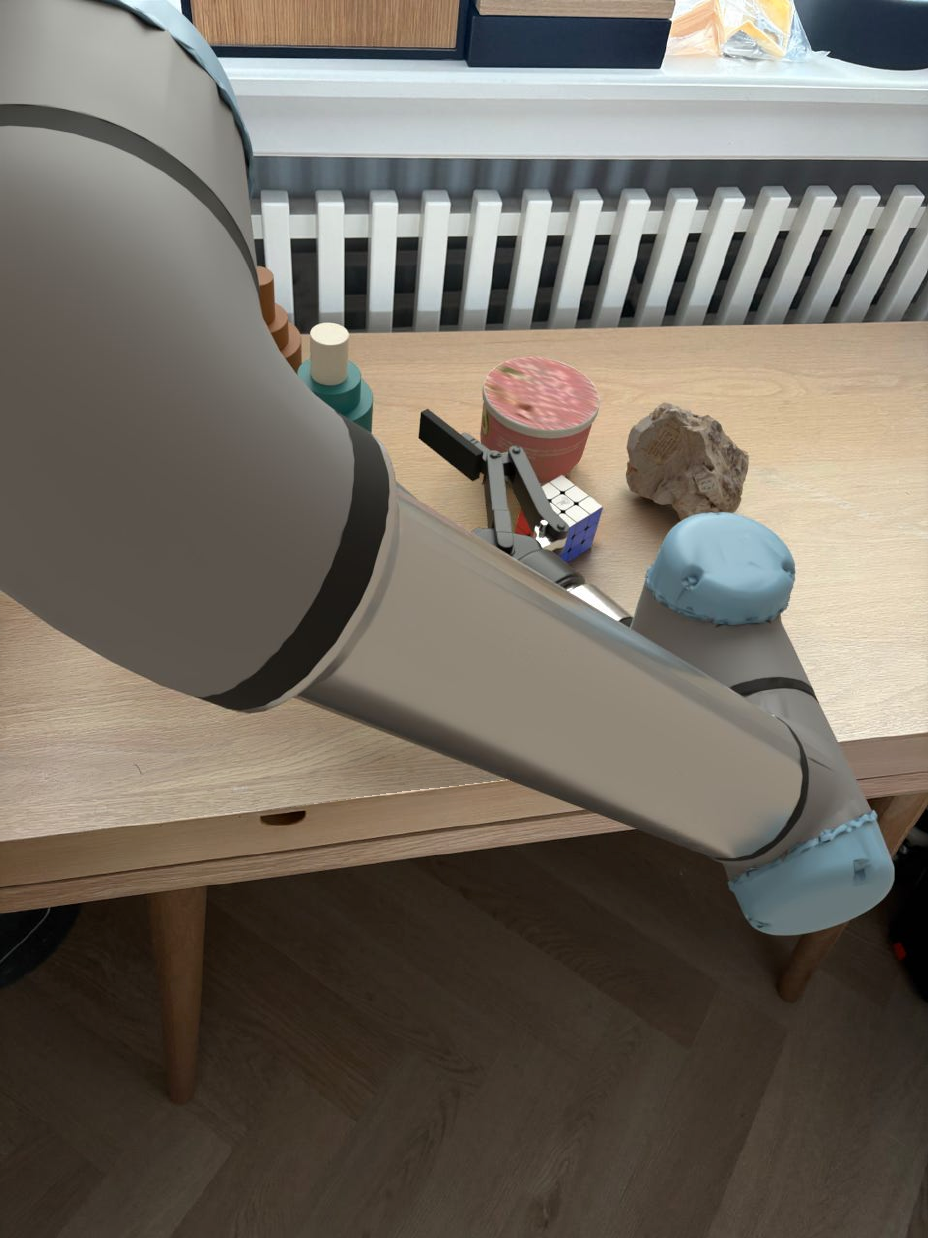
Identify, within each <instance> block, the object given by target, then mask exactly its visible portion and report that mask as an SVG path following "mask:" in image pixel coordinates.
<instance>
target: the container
mask: <svg viewBox="0 0 928 1238" xmlns="http://www.w3.org/2000/svg"><path fill="white" fill-rule="evenodd" d="M481 393H482V401H483V403H482V410H481V411H482V413H481V423H480V433H479V434H480V436H479V438H480V443H482V444H483V445H484V446H485V447H487V448H488V449H489V450H495V451H498V452H500V453H503V452H508V451H509V448H510V447H511V446H520V447H521V448H523V450H524V452H525V454H526V456H527V458H528V460H529V462H530V464H531V466H532V468H533V470H534V472H535V474H536V476H537V478H538V480H539V482H540V484H541V486H543V485H545V484H547V483H549V482H550V481H552V480H554V479H555V478H557V477H559V476H561V475H563V476H564V477H566V476H567V475H569V473H571V472H572V470H573V469H574V468H575V467H576V466H577V465H578V464H579V462H580V461H581V458H583V454H584V451H585V448H586V445H587V441H588V439H589V435H590V432H591V429H592V427H593V423H594V422H595V420H596V418H597V417H598V413H599V410H600V405H601V401H600V400H601V398H600V394H599V391H598V389H597V387H596V385H595V384H594V383H593V382H592V380H591V379H590V378H589V377H588V376H587V375H586V374H585V373H583V372H582V371H580V370H579V369H577V368H576V367H573V366H571V365H569V364H567V363H564V362H561V361H559V360H556V359H551V358H547V357H536V356H523V357H518V358H511V359H509V360H505V361H503V362H501V363H499V364H497V365H496V366H494V367H493V369H491V370H490V371H489V372H488V373H487V375H486V376H485V378H484V382H483V385H482V392H481ZM504 477H505V482H508V480H507V478H506V476H504Z"/></svg>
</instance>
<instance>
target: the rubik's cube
mask: <svg viewBox="0 0 928 1238" xmlns="http://www.w3.org/2000/svg"><path fill="white" fill-rule="evenodd" d="M542 489H543V491H544V493H545V495H546V497H547V499H548V501H549V503H550V505H551V507H552V509H553V511H555V512H556V513H557V514H558V515H559V516H560V517H561V518H562V519H563V520H564V521H565V522H566V523H567V524H568V525H569V531H568V535H567V539H566V543H565V547H564V551H563V553H562V554H560V555H558V556H559V557H560V558H561V559H563V560H564V561H565V562H566V563H569V562H570V561H572V560H574V559H575V558H577V557H578V556H580V555H581V554H583V553H585V552H586V551H587V550H589V549H590V548H592V547H593V544H594V540H595V537H596V533H597V530H598V526H599V523H600V519H601V516H602V513H603V509H604V506H603V505H602V504H601V503H600V502H598V501H597V500H595V499H594V498H592V497H591V495H589V494H588V493H586V492H585V491H584V490H582V489H581V488H580V487H579V486H577V485H576V484H575V483H573V482H572V481H571V480H570V479H569V478H567V477H566V476H563V475H561V476H559V477H557V478H555V479H554V480H552V481H550V482H549V483H547V484H545V485H543V486H542ZM514 533H517V534H522V535H527V536H531V537H533V533H532V531H531V529H530V527H529V525H528V523H527V521H526V519H525V516H524V514H523V512H522V510H521V508H520V507H519V511H518V514H517V519H516V526H515V530H514Z"/></svg>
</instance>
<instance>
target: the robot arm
mask: <svg viewBox="0 0 928 1238" xmlns="http://www.w3.org/2000/svg"><path fill="white" fill-rule="evenodd" d="M255 179H256V178H255V160H254V150H253V145H252V141H251V137H250V133H249V130H248V128H247V127H246V125H245V122H244V120H243V117H242V113H241V111H240V107H239V104H238V101H237V98H236V95H235V92H234V89H233V87H232V84H231V81H230V79H229V77H228V75H227V73H226V72H225V69H224V68H223V65H222V63H221V61H220V60H219V58H218V56H217V55H216V53H215V52H214V50H213V49H212V47H211V46H210V44H209V43H208V41H207V40H206V39H205V37H204V36H203V35H202V33H200V31H199V30H198V29H197V28H196V27H195V26H194V24H193V23H192V22H191V21H190V20H189V19H188V18H187V16H185V15H184V14H183V13H182V12H181V11H180V10H179V9H178V8H177V7H175V6H174V5H173V4H172V3H171V2H170V1H168V0H0V591H1V592H3V593H4V594H6V596H8V597H10V598H11V599H12V600H14V601H15V602H16V603H18V604H20V605H21V606H22V607H24V608H25V609H26V610H27V611H29V612H30V613H32V614H33V615H34V616H36V617H37V618H39V619H40V620H42V622H44V623H46V624H47V625H49V626H50V627H52V628H53V629H55V630H56V631H58V632H60V633H62V634H63V635H64V636H67V637H68V638H70V639H71V640H73V641H75V642H76V643H78V644H80V645H82V646H84V647H85V648H86V649H89V650H90V651H91V652H94V653H96V654H97V655H99V656H100V657H102V658H103V659H105V660H107V661H109V662H111V663H113V664H116V665H117V666H119V667H121V668H124V669H126V670H127V671H130V672H132V673H134V674H136V675H138V676H140V677H142V678H144V679H146V680H149V681H151V682H153V683H155V684H157V685H159V686H162V687H164V688H167V689H170V690H173V691H175V692H178V693H181V694H184V695H186V696H190V697H194V698H196V699H199V700H201V701H205V702H207V703H210V704H213V705H216V706H217V707H221V708H223V709H226V710H229V711H233V712H235V713H241V714H255V713H256V714H257V713H263V712H267V711H269V710H271V709H274V708H277V707H279V706H281V705H283V704H285V703H286V702H288V701H290V700H292V699H294V700H298V701H300V702H302V703H306V704H308V705H310V706H313V707H316V708H319V709H321V710H323V711H327V712H329V713H332V714H335V715H337V716H340V717H342V718H344V719H347V720H350V721H352V722H356V723H358V724H361V725H364V726H366V727H369V728H371V729H373V730H376V731H379V732H381V733H385V734H386V735H389V736H392V737H394V738H398V739H400V740H403V741H405V742H408V743H410V744H413V745H416V746H418V747H420V748H423V749H426V750H429V751H431V752H433V753H437V754H440V755H442V756H445V757H447V758H449V759H452V760H455V761H457V762H460V763H462V764H465V765H468V766H471V767H473V768H476V769H477V770H478V769H479V770H481V771H484V772H486V773H489V774H492V775H494V776H497V777H499V778H502V779H504V780H508V781H509V782H513V783H515V784H517V785H520V786H523V787H526V788H528V789H531V790H532V791H533V790H534V791H536V792H538V793H541V794H544V795H547V796H549V797H552V798H554V799H557V800H559V801H562V802H565V803H567V804H570V805H573V806H575V807H578V808H581V809H583V810H585V811H588V812H591V813H594V814H596V815H599V816H600V817H601V816H602V817H604V818H607V819H610V820H612V821H615V822H617V823H619V824H622V825H624V826H628V827H631V828H633V829H636V830H638V831H640V832H644V833H646V834H649V835H652V836H654V837H656V838H659V839H661V840H665V841H667V842H670V843H673V844H675V845H678V846H680V847H683V848H686V849H688V850H690V851H693V852H696V853H698V854H700V855H702V856H704V857H706V858H709V859H711V860H713V861H715V862H718V863H721V865H723V867H724V870H725V874H726V877H727V885H728V890H729V891H731V892H732V893H733V894H734V896H735V899H736V901H737V903H738V905H739V908H740V909H741V912H742V914H743V916H744V918H745V920H747V922H748V923H749V924H750V926H752V928H754V929H755V930H757V931H759V932H761V933H764V934H767V935H772V936H799V935H805V934H810V933H816V932H819V931H823V930H827V929H830V928H833V927H835V926H838V925H841V924H844V923H846V922H849V921H850V920H852V919H855V918H857V917H859V916H860V915H862V914H865V913H866V912H868V911H870V910H871V909H873V908H875V906H877V905H878V904H880V902H882V901H883V900H884V899H885V898H886V897H887V895H888V894H889V892H890V891H891V890H892V887H893V885H894V882H895V865H894V862H893V860H892V856H891V854H890V852H889V849H888V846H887V843H886V842H885V841H886V840H885V839H884V836H883V833H882V831H881V828H880V826H879V823H878V814H877V812H876V811H875V809H872V808H871V806H870V804H869V803H868V800H867V798H866V796H865V794H864V792H863V790H862V787H861V786H860V784H859V781H858V779H857V778H856V775H855V773H854V771H853V769H852V767H851V765H850V763H849V761H848V759H847V757H846V755H845V753H844V750H843V749H842V747H841V744H840V743H839V741H838V739H837V736H836V735H835V733H834V731H833V728H832V727H831V724H830V722H829V720H828V719H827V716H826V714H825V712H824V710H823V708H822V707H821V704H820V702H819V699H818V698H817V694H816V693H815V690H814V688H813V686H812V684H811V682H810V679H809V677H808V675H807V673H806V671H805V668H804V667H803V664H802V663H801V659H800V658H799V655H798V654H797V652H796V649H795V647H794V645H793V643H792V640H791V638H790V637H789V635H788V633H787V630H786V628H785V626H784V624H783V622H782V621H783V620H782V614H783V613H784V612H785V611H786V610H787V609H788V607H789V605H790V604H789V602H790V600H791V594H792V591H793V588H794V584H795V581H796V563H795V560H794V557H793V554H792V553H791V550H790V549H789V548H788V546H787V545H786V543H785V542H784V540H782V539H781V537H779V535H777V533H775V532H774V531H773V530H771V528H769V527H767V526H766V525H764V524H763V523H760V522H759V521H756V520H755V519H752V518H750V517H747V516H745V515H741V514H738V513H727V512H719V513H712V512H710V513H701V514H696V515H692V516H690V517H688V518H686V519H684V520H682V521H681V520H680V521H678V522H677V523H676V524H675V525H674V526H672V527H671V529H670V530H668V532H667V534H666V535H665V537H664V539H663V541H662V543H661V544H660V545H661V546H660V548H659V550H658V551H657V554H656V556H655V559H654V561H653V563H652V564H650V566H649V567H648V568H647V570H646V573H645V575H644V578H645V580H644V583H643V586H642V589H641V592H640V596H639V597H638V602H637V605H636V607H635V610H634V614H633V615H632V614H631V613H630V612H629V611H628V610H626V609H625V608H624V607H622V606H621V605H620V604H619V603H618V602H617V601H615V600H614V599H613V598H612V597H610V596H609V595H608V594H607V593H605V591H603V590H602V589H601V588H599V587H598V586H597V585H596V584H594V583H592V582H590V583H586V580H585V577H584V576H583V574H581V573H580V572H579V571H578V570H577V569H575V568H574V567H573V566H572V565H570V564H569V562H567V563H566V562H565V561H564V560H563V559H561V558H560V557H559V556H558V555H560V554H562V553H563V551H564V547H565V543H566V539H567V535H568V531H569V525H568V524H567V523H566V522H565V521H564V520H563V519H562V518H561V517H560V516H559V515H558V514H557V513H556V512H555V511H553V509H552V507H551V505H550V503H549V501H548V499H547V497H546V495H545V493H544V491H543V489H542V486H541V484H540V482H539V480H538V478H537V476H536V474H535V472H534V470H533V468H532V466H531V464H530V462H529V460H528V458H527V456H526V454H525V452H524V450H523V448H521V447H520V446H511V447H510V448H509V451H508V452H503V453H500V452H498V451H495V450H489V449H488V448H487V447H485V446H484V445H483V444H482V443H481V441H479V440H478V439H477V438H475V437H474V436H472V435H471V434H470V433H467V432H462V433H460V432H459V431H458V430H456V429H455V428H453V427H452V426H451V425H449V424H448V423H447V422H446V421H444V420H443V419H442V418H440V417H439V416H438V415H437V414H436V413H434V411H432V410H430V409H429V408H426V409H424V410H422V411H420V417H419V428H418V439H419V440H420V441H421V442H423V443H424V444H425V445H426V446H427V447H429V448H430V449H431V450H432V451H434V452H435V453H436V454H437V455H439V456H440V457H441V458H442V459H443V460H444V461H446V462H447V463H448V464H450V465H451V466H452V467H454V468H455V469H456V470H457V471H458V472H460V473H461V474H462V475H464V476H465V478H467V479H469V480H470V481H471V482H475V481H477V480H479V479H480V477H481V474H482V475H483V476H482V482H481V486H483V491H484V493H483V494H484V501H485V514H486V523H487V527H484V528H483V527H481V526H478V527H476V528H474V529H472V530H469V529H467V528H465V527H464V526H462V525H461V524H459V523H457V522H456V521H454V520H452V519H450V518H449V517H447V516H446V515H444V514H442V513H441V512H440V511H438V510H436V509H434V508H433V507H431V506H429V505H427V504H425V503H424V502H422V501H420V500H419V499H418V498H417V497H416V498H417V499H418V500H417V499H416V498H414V497H415V496H414V497H412V496H411V495H409V494H408V493H406V492H404V491H403V490H401V489H399V488H398V487H396V481H397V480H396V473H395V470H394V465H393V462H392V459H391V456H390V454H389V452H388V450H387V448H386V446H385V445H384V444H383V443H382V441H381V440H380V439H379V438H378V437H377V436H376V435H374V434H373V433H372V434H371V433H370V432H368V431H367V430H366V429H364V428H363V427H361V426H359V425H358V424H356V423H354V422H353V421H351V420H350V419H348V418H347V417H345V416H343V415H342V414H340V413H339V412H337V411H335V410H334V409H333V408H331V407H330V406H329V405H327V404H326V403H325V402H324V401H322V400H321V399H320V398H318V397H317V396H316V395H315V394H314V393H313V392H312V391H311V390H310V389H309V388H308V386H307V385H306V384H305V383H304V382H303V381H302V380H301V379H300V378H299V376H298V375H297V374H296V373H295V371H294V370H293V369H292V367H291V366H290V364H289V363H288V362H287V360H286V359H285V357H284V356H283V355H282V353H281V352H280V350H279V348H278V346H277V344H276V343H275V341H274V339H273V337H272V335H271V333H270V331H269V329H268V327H267V325H266V323H265V321H264V319H263V316H262V311H261V307H260V287H259V278H258V270H257V266H258V262H257V253H256V245H255V235H254V228H253V227H254V226H253V220H252V219H253V217H252V211H251V210H252V209H251V201H252V198H253V193H254V189H255V188H254V187H255ZM504 476H506V478H507V480H508V481H507V482H508V484H509V486H510V488H511V490H512V494H513V495H514V497H515V499H516V502H517V503H518V505H519V509H520V508H521V510H522V512H523V514H524V516H525V519H526V521H527V523H528V525H529V527H530V529H531V531H532V533H533V537H531V536H527V535H522V534H517V533H515V532H513V527H512V517H511V511H510V509H509V506H508V505H509V504H508V497H507V496H508V495H507V488H506V487H507V485H506V480H505V477H504Z"/></svg>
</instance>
